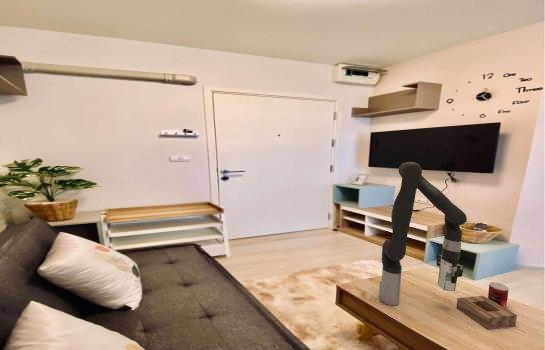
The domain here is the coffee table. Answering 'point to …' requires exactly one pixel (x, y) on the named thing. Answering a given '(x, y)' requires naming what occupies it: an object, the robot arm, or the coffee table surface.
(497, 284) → the canned food
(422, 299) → the coffee table surface
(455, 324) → the coffee table surface
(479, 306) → the hollow square frame
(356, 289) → the coffee table surface
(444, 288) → the syrup box
